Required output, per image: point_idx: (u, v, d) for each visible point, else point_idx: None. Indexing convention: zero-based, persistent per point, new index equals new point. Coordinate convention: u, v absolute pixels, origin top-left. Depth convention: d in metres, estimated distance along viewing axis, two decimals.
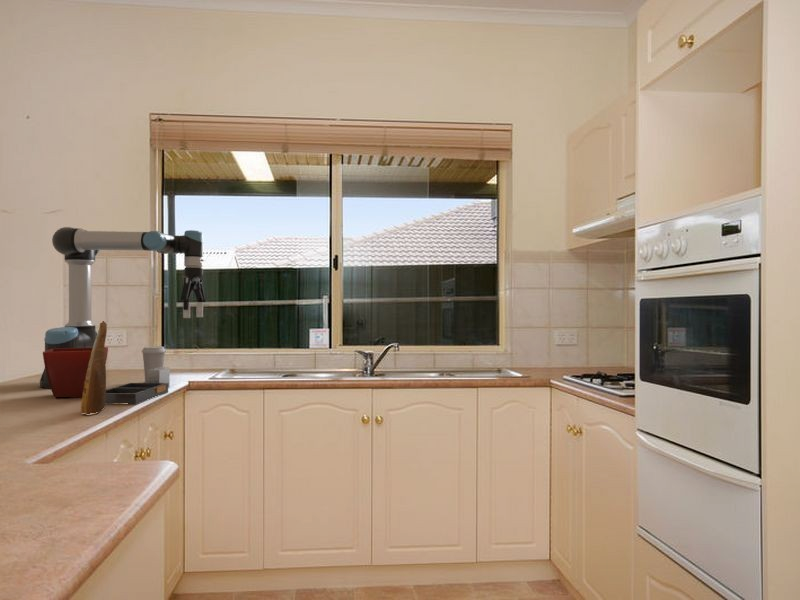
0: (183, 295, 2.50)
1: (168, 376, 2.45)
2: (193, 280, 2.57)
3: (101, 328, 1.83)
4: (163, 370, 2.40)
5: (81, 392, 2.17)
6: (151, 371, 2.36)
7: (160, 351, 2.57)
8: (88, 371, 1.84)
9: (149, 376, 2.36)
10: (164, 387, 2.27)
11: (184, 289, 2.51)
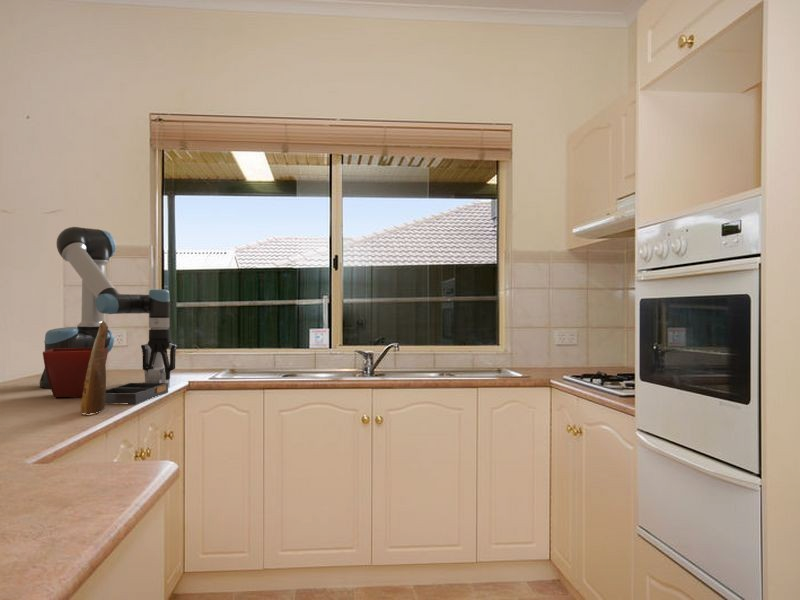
0: None
1: None
2: (150, 343, 2.40)
3: (101, 328, 1.83)
4: (163, 370, 2.40)
5: (81, 392, 2.17)
6: (151, 371, 2.36)
7: None
8: (88, 371, 1.84)
9: (149, 376, 2.36)
10: (164, 387, 2.27)
11: None
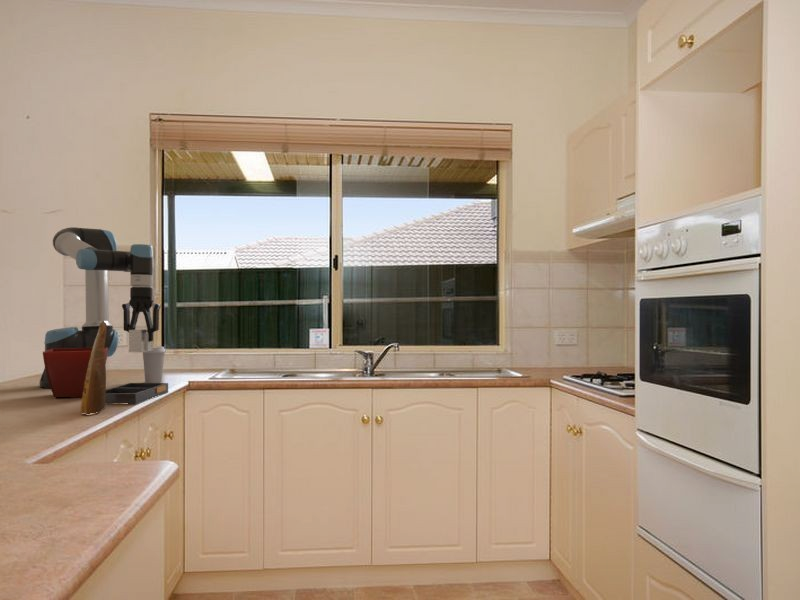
0: None
1: None
2: (132, 302, 2.24)
3: (101, 328, 1.83)
4: (146, 331, 2.23)
5: (81, 392, 2.17)
6: (132, 331, 2.20)
7: (160, 351, 2.57)
8: (88, 371, 1.84)
9: (130, 336, 2.20)
10: (164, 387, 2.27)
11: None
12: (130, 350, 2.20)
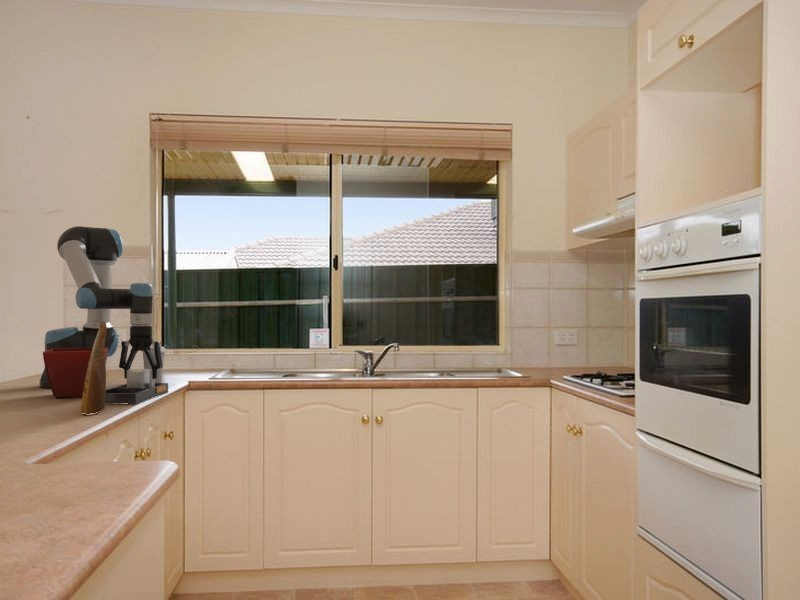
0: None
1: None
2: (132, 340, 2.24)
3: (101, 328, 1.83)
4: (145, 372, 2.23)
5: (81, 392, 2.17)
6: (132, 373, 2.20)
7: None
8: (88, 371, 1.84)
9: (130, 378, 2.20)
10: (164, 387, 2.27)
11: None
12: None
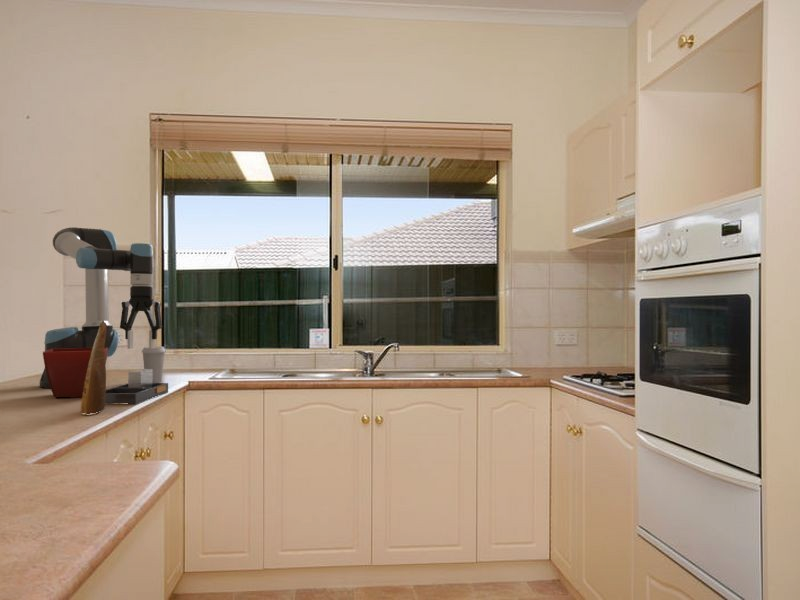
0: None
1: (151, 378, 2.28)
2: (132, 301, 2.24)
3: (101, 328, 1.83)
4: (145, 372, 2.23)
5: (81, 392, 2.17)
6: (132, 373, 2.20)
7: (160, 351, 2.57)
8: (88, 371, 1.84)
9: (130, 378, 2.20)
10: (164, 387, 2.27)
11: None
12: None
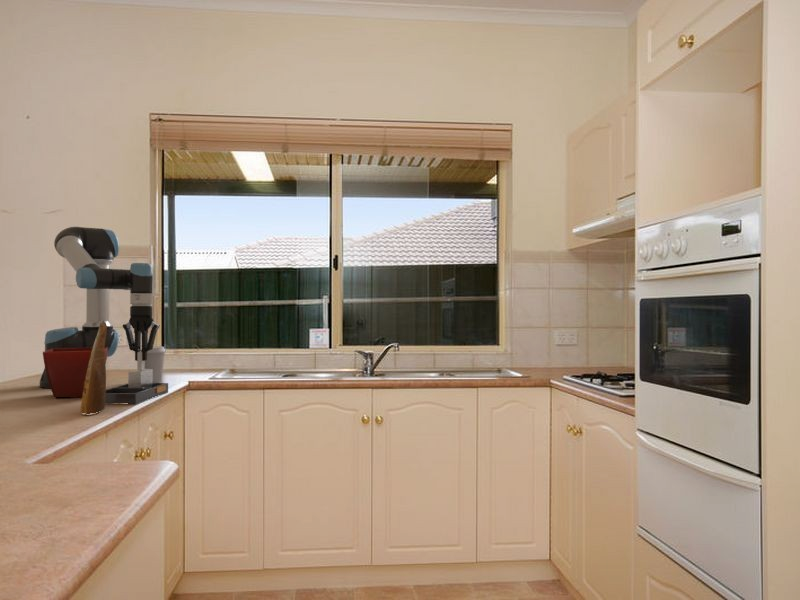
0: None
1: (151, 378, 2.28)
2: (132, 320, 2.24)
3: (101, 328, 1.83)
4: (145, 372, 2.23)
5: (81, 392, 2.17)
6: (132, 373, 2.20)
7: (160, 351, 2.57)
8: (88, 371, 1.84)
9: (130, 378, 2.20)
10: (164, 387, 2.27)
11: None
12: None
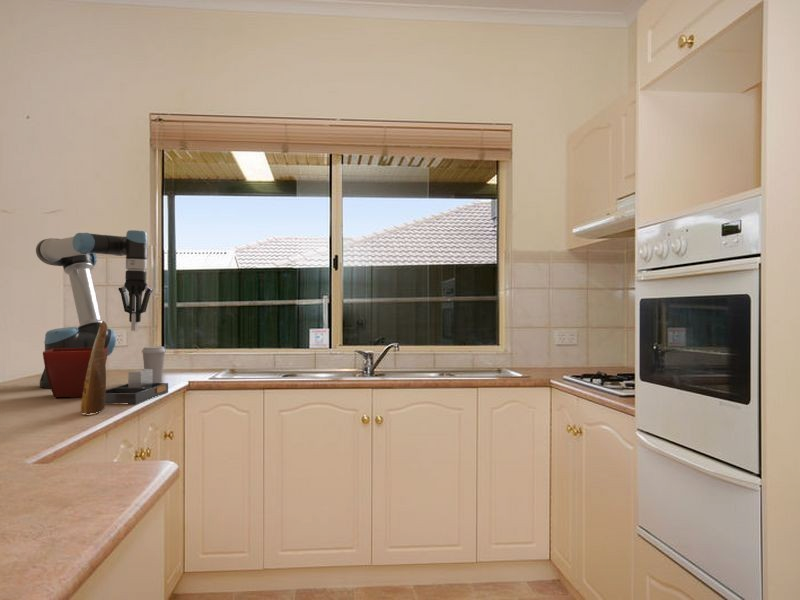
0: None
1: (151, 378, 2.28)
2: (127, 284, 2.39)
3: (101, 328, 1.83)
4: (145, 372, 2.23)
5: (81, 392, 2.17)
6: (132, 373, 2.20)
7: (160, 351, 2.57)
8: (88, 371, 1.84)
9: (130, 378, 2.20)
10: (164, 387, 2.27)
11: None
12: None
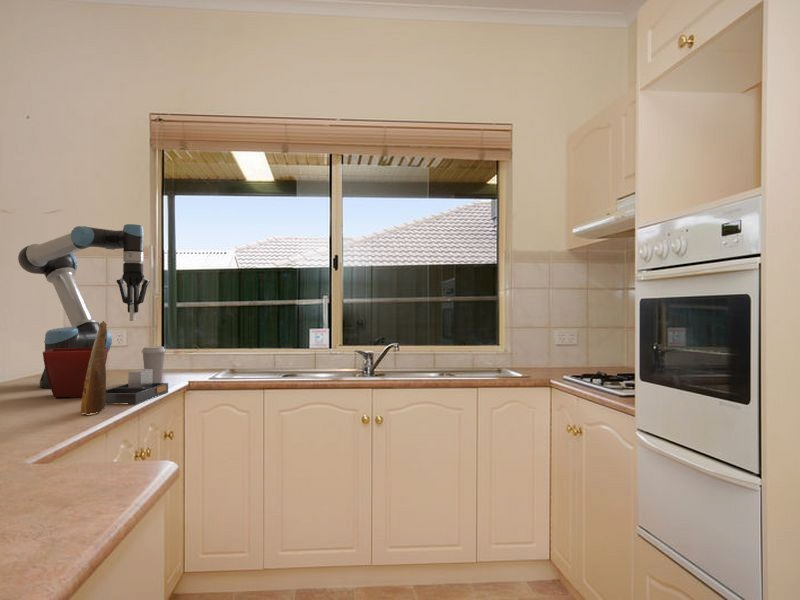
0: None
1: (151, 378, 2.28)
2: (125, 276, 2.48)
3: (101, 328, 1.83)
4: (145, 372, 2.23)
5: (81, 392, 2.17)
6: (132, 373, 2.20)
7: (160, 351, 2.57)
8: (88, 371, 1.84)
9: (130, 378, 2.20)
10: (164, 387, 2.27)
11: None
12: None
